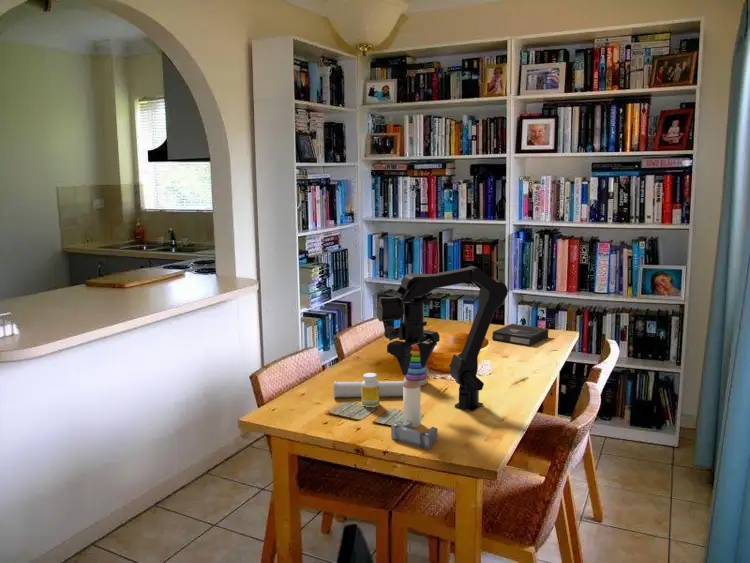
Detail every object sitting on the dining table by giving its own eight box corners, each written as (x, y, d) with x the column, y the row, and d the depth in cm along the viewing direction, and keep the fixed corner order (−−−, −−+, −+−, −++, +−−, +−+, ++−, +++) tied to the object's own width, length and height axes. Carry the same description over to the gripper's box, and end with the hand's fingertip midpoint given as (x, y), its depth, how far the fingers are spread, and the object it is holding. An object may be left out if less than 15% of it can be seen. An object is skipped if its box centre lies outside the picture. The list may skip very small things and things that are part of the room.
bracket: (404, 431, 179) (404, 417, 179) (441, 441, 172) (441, 427, 171) (391, 438, 175) (391, 424, 174) (428, 449, 167) (428, 435, 167)
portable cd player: (492, 341, 267) (492, 332, 266) (512, 332, 280) (512, 323, 279) (529, 347, 257) (529, 338, 256) (548, 338, 269) (548, 329, 269)
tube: (412, 380, 209) (334, 381, 210) (413, 380, 204) (333, 381, 204) (413, 397, 209) (334, 398, 209) (414, 397, 203) (333, 398, 204)
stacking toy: (415, 389, 212) (414, 333, 209) (398, 383, 218) (397, 328, 215) (432, 383, 217) (432, 328, 214) (416, 377, 223) (415, 324, 220)
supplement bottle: (360, 402, 201) (359, 372, 199) (376, 400, 202) (376, 371, 201) (364, 409, 196) (363, 378, 194) (381, 407, 197) (380, 376, 196)
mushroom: (413, 419, 187) (413, 379, 185) (424, 425, 183) (423, 384, 181) (400, 423, 184) (399, 383, 182) (410, 429, 180) (409, 387, 178)
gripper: (409, 308, 198) (410, 358, 201) (371, 321, 184) (372, 374, 187) (440, 313, 192) (440, 364, 194) (403, 326, 177) (403, 381, 180)
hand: (414, 370), depth 189 cm, fingers open, 9 cm apart
